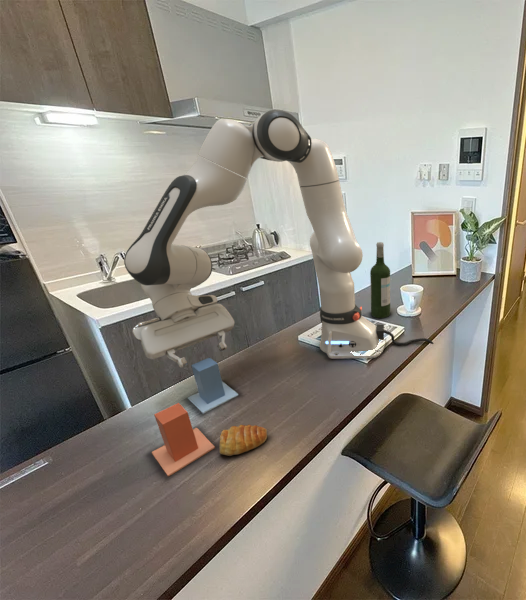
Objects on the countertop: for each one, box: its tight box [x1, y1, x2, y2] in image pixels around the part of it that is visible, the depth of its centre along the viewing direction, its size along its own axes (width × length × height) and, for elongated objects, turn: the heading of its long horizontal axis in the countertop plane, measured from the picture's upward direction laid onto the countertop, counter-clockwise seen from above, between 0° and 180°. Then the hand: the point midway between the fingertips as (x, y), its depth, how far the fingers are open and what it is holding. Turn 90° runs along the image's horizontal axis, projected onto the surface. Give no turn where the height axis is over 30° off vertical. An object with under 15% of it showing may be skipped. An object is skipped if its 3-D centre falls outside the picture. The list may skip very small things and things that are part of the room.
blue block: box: [190, 357, 225, 404], centre depth 84 cm, size 4×4×10 cm
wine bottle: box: [369, 241, 391, 319], centre depth 129 cm, size 8×8×30 cm
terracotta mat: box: [151, 427, 216, 478], centre depth 70 cm, size 9×9×1 cm
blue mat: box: [187, 380, 239, 415], centre depth 86 cm, size 9×9×1 cm
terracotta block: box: [153, 402, 198, 462], centre depth 68 cm, size 4×4×10 cm
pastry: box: [219, 424, 268, 457], centre depth 71 cm, size 9×7×4 cm
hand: (204, 357), depth 81 cm, fingers open, 8 cm apart
